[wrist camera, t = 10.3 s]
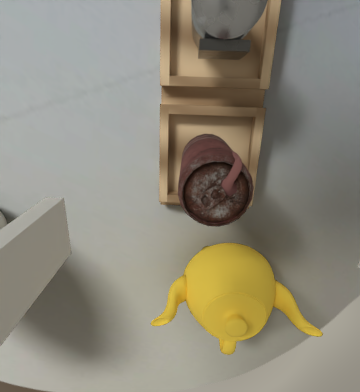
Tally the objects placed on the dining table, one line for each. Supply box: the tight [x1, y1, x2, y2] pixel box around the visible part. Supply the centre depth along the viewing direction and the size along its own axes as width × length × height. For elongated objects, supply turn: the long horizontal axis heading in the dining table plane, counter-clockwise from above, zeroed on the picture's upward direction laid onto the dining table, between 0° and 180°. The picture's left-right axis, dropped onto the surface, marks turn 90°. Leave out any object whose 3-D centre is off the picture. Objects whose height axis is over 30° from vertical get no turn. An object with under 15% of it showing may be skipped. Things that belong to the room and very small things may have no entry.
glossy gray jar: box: [191, 0, 268, 60], centre depth 24 cm, size 6×6×10 cm
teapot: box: [151, 243, 323, 355], centre depth 36 cm, size 20×15×12 cm
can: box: [178, 134, 254, 226], centre depth 27 cm, size 6×6×14 cm
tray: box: [159, 0, 281, 209], centre depth 31 cm, size 28×12×3 cm, turn 178°
